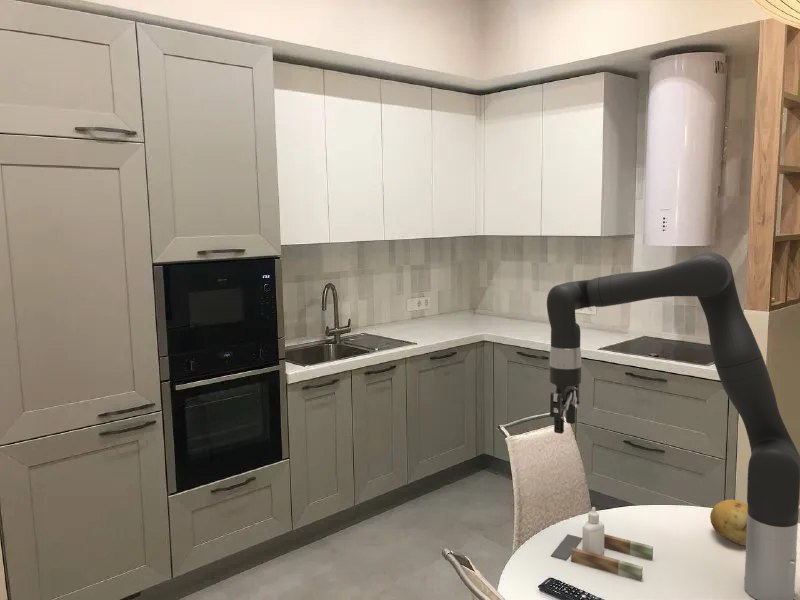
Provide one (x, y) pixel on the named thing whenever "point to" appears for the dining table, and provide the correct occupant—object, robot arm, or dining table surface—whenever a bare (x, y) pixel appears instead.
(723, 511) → the potato
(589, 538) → the eye dropper bottle
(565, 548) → the plate
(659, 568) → the dining table surface
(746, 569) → the robot arm
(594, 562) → the walnut channel
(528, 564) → the dining table surface
